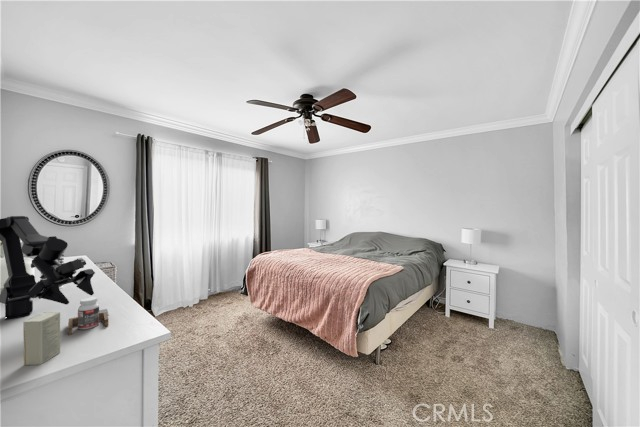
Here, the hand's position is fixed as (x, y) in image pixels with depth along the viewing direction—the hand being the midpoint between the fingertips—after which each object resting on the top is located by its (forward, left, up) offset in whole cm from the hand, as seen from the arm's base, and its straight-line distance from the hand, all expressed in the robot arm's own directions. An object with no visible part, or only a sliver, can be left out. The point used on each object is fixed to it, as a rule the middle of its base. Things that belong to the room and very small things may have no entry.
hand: (80, 298), depth 93 cm
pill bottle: (+2, -2, -10) cm, 11 cm away
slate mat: (+4, +9, -10) cm, 14 cm away
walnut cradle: (+2, -2, -10) cm, 10 cm away
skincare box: (-8, -20, -10) cm, 24 cm away
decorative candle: (-11, +66, -10) cm, 68 cm away
